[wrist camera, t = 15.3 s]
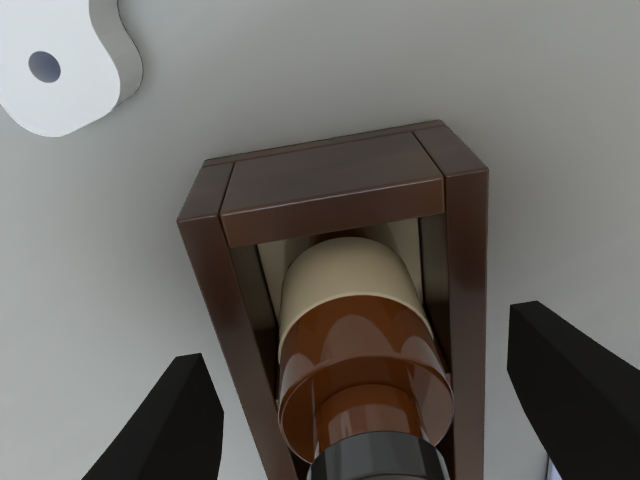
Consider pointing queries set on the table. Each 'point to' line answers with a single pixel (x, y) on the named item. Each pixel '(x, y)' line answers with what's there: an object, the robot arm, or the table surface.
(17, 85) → the mounting plate
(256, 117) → the table surface
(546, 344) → the robot arm
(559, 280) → the table surface
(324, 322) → the spice bottle
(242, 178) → the cup holder
